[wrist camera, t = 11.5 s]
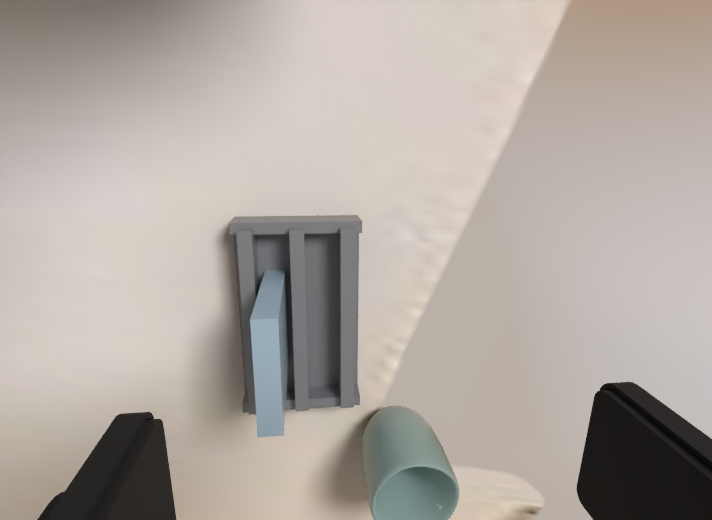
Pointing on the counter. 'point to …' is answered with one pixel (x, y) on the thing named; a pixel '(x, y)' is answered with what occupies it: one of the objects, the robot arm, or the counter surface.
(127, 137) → the counter surface
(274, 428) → the light blue upright panel
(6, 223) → the counter surface
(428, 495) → the cup
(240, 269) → the rack
